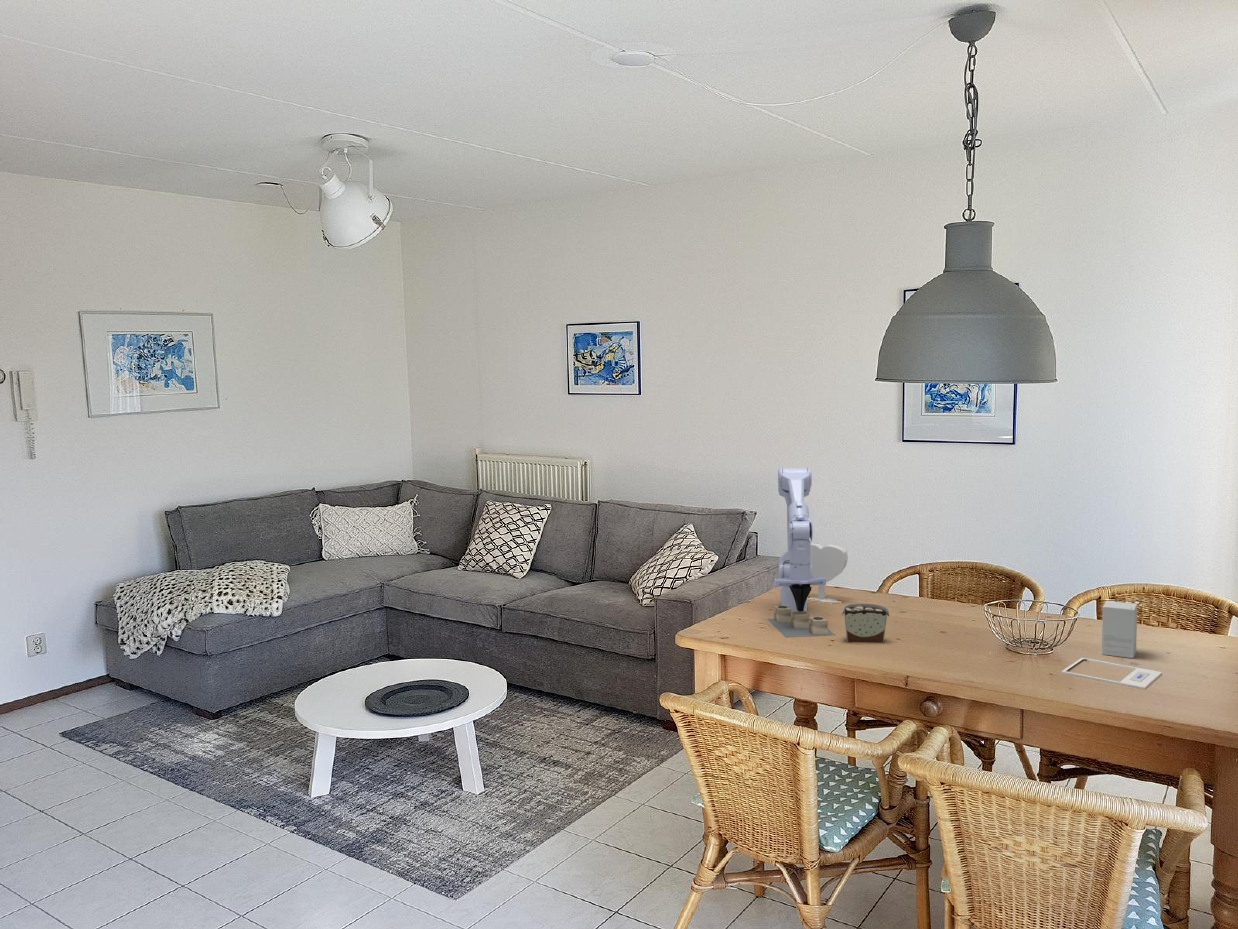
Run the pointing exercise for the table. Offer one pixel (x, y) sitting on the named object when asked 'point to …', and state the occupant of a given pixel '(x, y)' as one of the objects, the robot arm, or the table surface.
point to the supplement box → (1119, 629)
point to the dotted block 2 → (818, 625)
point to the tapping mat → (794, 630)
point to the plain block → (799, 619)
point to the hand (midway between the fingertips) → (800, 610)
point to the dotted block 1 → (782, 614)
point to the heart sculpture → (827, 565)
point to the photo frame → (1134, 679)
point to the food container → (865, 622)
